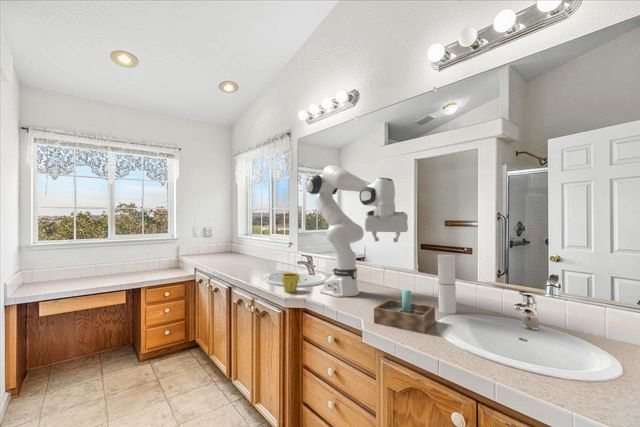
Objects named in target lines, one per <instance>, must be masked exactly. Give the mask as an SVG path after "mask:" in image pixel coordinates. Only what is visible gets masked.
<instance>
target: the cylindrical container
mask: <svg viewBox="0 0 640 427" xmlns="http://www.w3.org/2000/svg"><path fill="white" fill-rule="evenodd" d="M437 284H438V285H437V286H438V287H437V288H438V311H439V313H443V314H447V315H454V314H456V313H457V298H456V296H457V295H456V294H457V291H456V290H457V289H456V286H457V285H456V255H454V254H438V255H437Z"/></svg>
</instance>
